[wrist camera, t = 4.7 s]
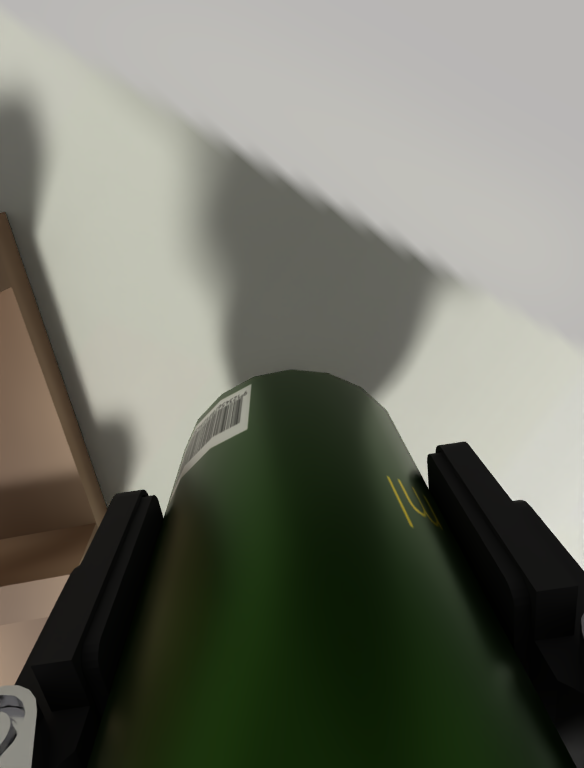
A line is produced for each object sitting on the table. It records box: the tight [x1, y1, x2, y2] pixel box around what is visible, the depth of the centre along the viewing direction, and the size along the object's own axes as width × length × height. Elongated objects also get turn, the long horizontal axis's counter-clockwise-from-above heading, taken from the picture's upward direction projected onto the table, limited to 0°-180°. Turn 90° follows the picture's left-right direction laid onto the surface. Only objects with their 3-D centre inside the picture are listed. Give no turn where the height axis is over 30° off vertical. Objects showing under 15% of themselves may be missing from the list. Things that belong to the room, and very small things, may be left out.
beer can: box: [87, 370, 577, 768], centre depth 8 cm, size 5×5×12 cm
